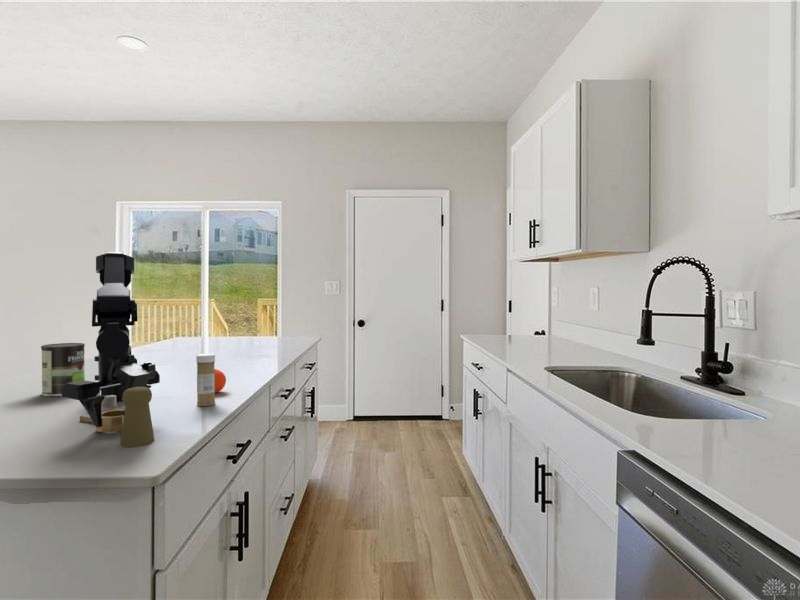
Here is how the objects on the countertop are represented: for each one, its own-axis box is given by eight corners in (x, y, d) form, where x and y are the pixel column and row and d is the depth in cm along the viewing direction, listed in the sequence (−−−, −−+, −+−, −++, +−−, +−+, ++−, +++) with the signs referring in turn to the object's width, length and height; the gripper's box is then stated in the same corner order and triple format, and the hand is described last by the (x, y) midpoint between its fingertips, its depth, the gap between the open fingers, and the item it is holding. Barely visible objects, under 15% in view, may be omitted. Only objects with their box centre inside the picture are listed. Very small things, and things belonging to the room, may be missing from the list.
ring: (118, 421, 105) (118, 408, 105) (140, 424, 103) (140, 411, 102) (88, 429, 99) (87, 415, 99) (110, 433, 96) (110, 419, 96)
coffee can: (93, 389, 140) (92, 342, 139) (68, 397, 129) (67, 347, 129) (59, 388, 140) (59, 342, 139) (32, 396, 129) (31, 346, 129)
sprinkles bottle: (215, 402, 125) (215, 352, 125) (214, 406, 121) (214, 355, 120) (197, 403, 123) (196, 353, 123) (195, 407, 119) (195, 355, 119)
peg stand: (112, 412, 114) (112, 391, 114) (135, 416, 111) (135, 394, 111) (79, 421, 106) (79, 398, 106) (103, 425, 103) (103, 402, 103)
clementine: (200, 390, 139) (200, 367, 139) (224, 388, 142) (224, 365, 142) (201, 396, 132) (201, 371, 131) (227, 394, 134) (227, 369, 134)
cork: (130, 449, 88) (129, 392, 88) (113, 443, 91) (113, 388, 91) (160, 440, 93) (160, 386, 93) (144, 435, 97) (144, 383, 96)
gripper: (97, 359, 89) (97, 440, 89) (177, 348, 106) (177, 415, 106) (59, 356, 93) (60, 433, 93) (142, 345, 110) (142, 410, 110)
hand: (114, 422), depth 101 cm, fingers closed on ring, 7 cm apart
